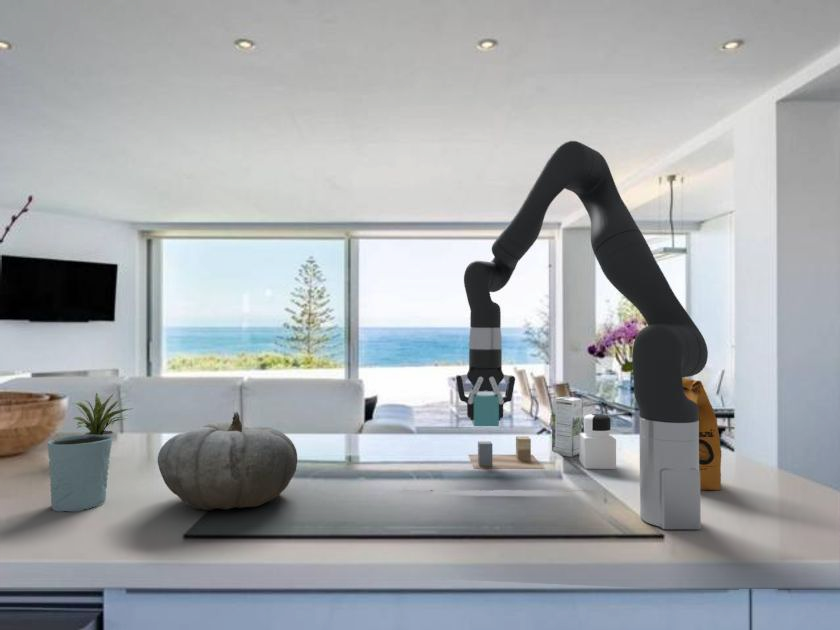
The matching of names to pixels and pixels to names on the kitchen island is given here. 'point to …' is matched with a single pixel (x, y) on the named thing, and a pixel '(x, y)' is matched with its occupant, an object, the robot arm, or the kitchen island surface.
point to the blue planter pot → (79, 471)
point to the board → (512, 458)
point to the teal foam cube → (486, 410)
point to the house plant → (99, 417)
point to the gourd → (227, 465)
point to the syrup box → (566, 425)
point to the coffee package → (706, 436)
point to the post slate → (484, 453)
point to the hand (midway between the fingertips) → (485, 419)
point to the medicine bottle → (597, 443)
